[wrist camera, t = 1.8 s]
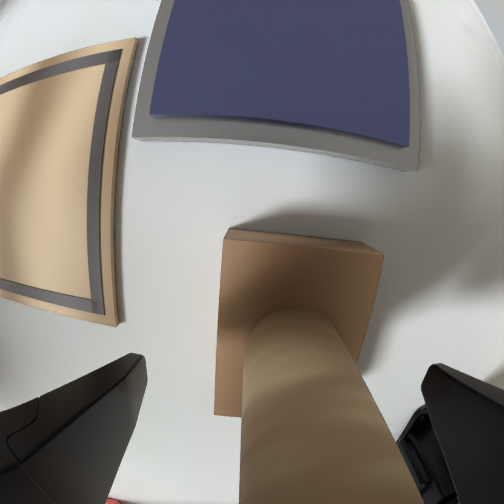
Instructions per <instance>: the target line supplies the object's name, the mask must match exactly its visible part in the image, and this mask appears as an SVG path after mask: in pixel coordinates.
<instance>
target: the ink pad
mask: <svg viewBox="0 0 504 504" xmlns="http://www.w3.org/2000/svg"><path fill="white" fill-rule="evenodd" d="M132 138H135V139H137V140H140V141H183V142H209V143H226V144H239V145H251V146H261V147H270V148H279V149H287V150H295V151H302V152H309V153H315V154H322V155H328V156H334V157H339V158H345V159H350V160H355V161H360V162H365V163H370V164H375V165H379V166H383V167H388V168H392V169H396V170H400V171H404V172H406V171H418V160H419V139H420V98H419V78H418V65H417V55H416V46H415V38H414V31H413V25H412V19H411V14H410V8H409V3H408V0H162V1H161V4H160V7H159V10H158V14H157V17H156V20H155V24H154V27H153V31H152V35H151V38H150V42H149V46H148V50H147V54H146V59H145V63H144V68H143V72H142V77H141V82H140V87H139V93H138V98H137V104H136V111H135V117H134V124H133V132H132Z"/></svg>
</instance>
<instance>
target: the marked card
mask: <svg viewBox="0 0 504 504" xmlns="http://www.w3.org/2000/svg"><path fill="white" fill-rule="evenodd" d="M137 44H138V40H137V39H136V38H132V39H125V40H120V41H114V42H109V43H104V44H100V45H95V46H91V47H87V48H83V49H79V50H76V51H72V52H69V53H65V54H62V55H59V56H56V57H52V58H50V59H47V60H44V61H41V62H38V63H36V64H33V65H30V66H28V67H25V68H23V69H20V70H18V71H16V72H13V73H11V74H9V75H7V76H5V77H2V78H0V296H1V297H4V298H7V299H10V300H13V301H16V302H19V303H22V304H26V305H29V306H32V307H36V308H39V309H42V310H46V311H50V312H53V313H57V314H61V315H65V316H69V317H73V318H77V319H81V320H85V321H89V322H94V323H98V324H103V325H108V326H113V327H117V326H118V325H119V320H118V310H117V299H116V285H115V266H114V200H115V181H116V168H117V156H118V147H119V138H120V130H121V123H122V116H123V110H124V104H125V98H126V92H127V87H128V82H129V77H130V73H131V68H132V64H133V60H134V55H135V51H136V47H137Z"/></svg>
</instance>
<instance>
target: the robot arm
mask: <svg viewBox="0 0 504 504" xmlns="http://www.w3.org/2000/svg"><path fill="white" fill-rule="evenodd" d="M147 380H148V378H147V369H146V361H145V357H144V356H143V355H140V354H135V353H129V354H127V355H125V356H123V357H121V358H119V359H117V360H115V361H113V362H111V363H109V364H107V365H105V366H103V367H101V368H99V369H97V370H95V371H93V372H91V373H88V374H86V375H84V376H82V377H80V378H78V379H76V380H74V381H72V382H70V383H68V384H65V385H63V386H61V387H59V388H57V389H55V390H53V391H50V392H48V393H46V394H44V395H42V396H40V398H38V397H37V398H35V399H33V400H30V401H28V402H26V403H23V404H21V405H18V406H16V407H14V408H11V409H8V410H5V411H2V412H0V504H105V503H106V500H107V498H108V495H109V492H110V490H111V487H112V484H113V482H114V479H115V476H116V474H117V471H118V469H119V466H120V463H121V461H122V458H123V456H124V453H125V451H126V448H127V446H128V443H129V441H130V438H131V436H132V433H133V431H134V428H135V426H136V422H137V419H138V415H139V411H140V407H141V404H142V400H143V397H144V393H145V389H146V386H147ZM421 391H422V394H423V397H424V400H425V403H426V407H427V408H426V409H421V410H419V411H417V412H416V413H415V414H414V415H413V416H412V417H411V419H410V421H409V423H408V424H407V426H406V428H405V429H404V431H403V432H402V434H401V436H400V437H399V439H398V440H397V442H396V444H397V446H398V448H399V450H400V452H401V454H402V456H403V458H404V461H405V463H406V465H407V467H408V469H409V471H410V473H411V475H412V477H413V480H414V482H415V484H416V486H417V488H418V490H419V493H420V495H421V497H422V499H423V502H424V504H504V390H502V389H500V388H497V387H495V386H493V385H490V384H488V383H486V382H483V381H481V380H479V379H476V378H474V377H472V376H469V375H467V374H465V373H462V372H460V371H458V370H456V369H453V368H451V367H449V366H447V365H444V364H442V363H438V364H432V365H431V366H430V367H429V369H428V371H427V373H426V375H425V377H424V379H423V382H422V384H421Z"/></svg>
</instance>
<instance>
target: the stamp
mask: <svg viewBox="0 0 504 504" xmlns="http://www.w3.org/2000/svg"><path fill="white" fill-rule="evenodd" d="M383 259H384V255H383V254H382V253H380V252H378V251H376V250H375V249H373V248H371V247H369V246H367V245H366V244H364V243H362V242H357V241H348V240H339V239H330V238H321V237H312V236H302V235H293V234H283V233H273V232H263V231H252V230H242V229H231V228H229V229H228V231H227V233H226V235H225V237H224V239H223V251H222V265H221V279H220V295H219V311H218V330H217V350H216V373H215V401H214V415H220V416H230V417H242V422H241V452H240V484H239V504H424V502H423V499H422V497H421V495H420V493H419V490H418V488H417V486H416V484H415V482H414V480H413V477H412V475H411V473H410V471H409V469H408V467H407V465H406V463H405V461H404V458H403V456H402V454H401V452H400V450H399V448H398V446H397V444H396V442H395V440H394V438H393V436H392V434H391V432H390V430H389V428H388V426H387V424H386V422H385V420H384V418H383V416H382V414H381V412H380V410H379V408H378V406H377V404H376V402H375V401H374V399H373V397H372V395H371V393H370V391H369V389H368V387H367V385H366V383H365V381H364V380H363V378H362V376H361V374H360V372H359V370H358V368H357V367H356V362H357V359H358V356H359V353H360V350H361V347H362V343H363V340H364V337H365V333H366V330H367V326H368V323H369V319H370V315H371V311H372V308H373V304H374V300H375V295H376V291H377V287H378V283H379V278H380V273H381V269H382V264H383Z"/></svg>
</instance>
